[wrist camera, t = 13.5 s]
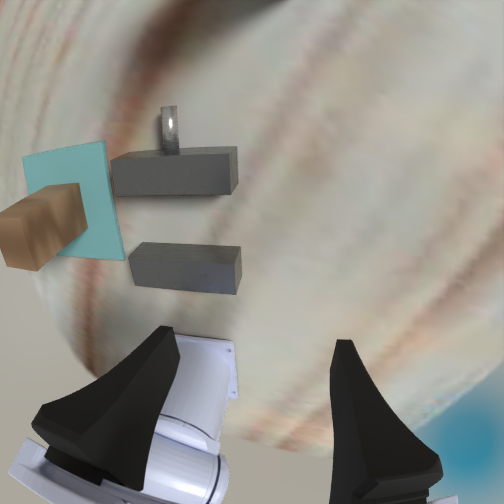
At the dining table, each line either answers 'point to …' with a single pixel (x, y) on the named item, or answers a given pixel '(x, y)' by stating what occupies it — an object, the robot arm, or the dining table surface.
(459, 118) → the dining table surface
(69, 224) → the walnut peg
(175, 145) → the metal vise
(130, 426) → the robot arm
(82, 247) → the teal mat
